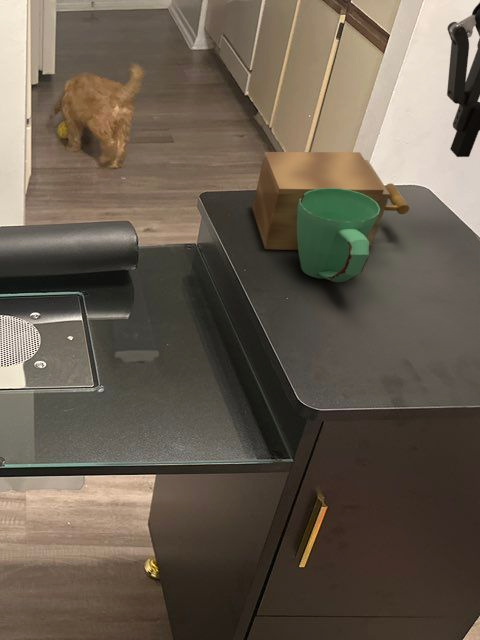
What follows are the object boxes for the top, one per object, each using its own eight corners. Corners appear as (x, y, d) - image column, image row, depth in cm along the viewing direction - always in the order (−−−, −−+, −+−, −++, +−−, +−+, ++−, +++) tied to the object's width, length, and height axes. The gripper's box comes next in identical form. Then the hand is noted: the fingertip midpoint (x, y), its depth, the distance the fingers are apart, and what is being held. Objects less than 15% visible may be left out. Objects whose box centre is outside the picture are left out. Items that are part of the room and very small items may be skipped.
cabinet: (342, 210, 114) (359, 152, 108) (363, 251, 105) (384, 189, 99) (252, 209, 116) (264, 151, 110) (264, 249, 107) (279, 188, 101)
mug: (273, 252, 106) (289, 189, 99) (343, 250, 105) (363, 186, 99) (305, 310, 95) (325, 242, 88) (383, 308, 94) (409, 239, 88)
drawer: (381, 208, 112) (397, 159, 107) (403, 244, 104) (422, 194, 99) (268, 206, 115) (279, 159, 110) (281, 242, 106) (294, 192, 101)
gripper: (483, -32, 83) (417, 164, 98) (611, -39, 81) (523, 163, 96) (459, -45, 89) (400, 143, 104) (578, -51, 87) (500, 141, 102)
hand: (459, 152), depth 100 cm, fingers closed
